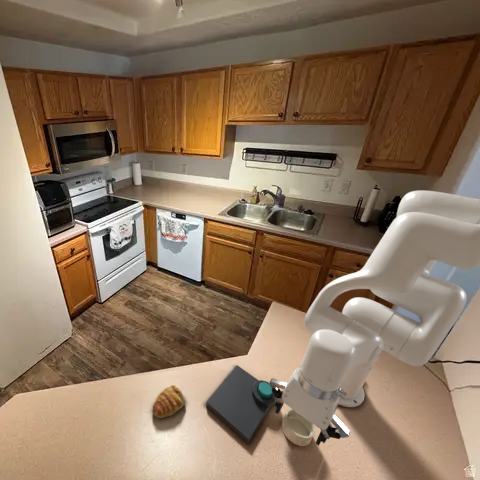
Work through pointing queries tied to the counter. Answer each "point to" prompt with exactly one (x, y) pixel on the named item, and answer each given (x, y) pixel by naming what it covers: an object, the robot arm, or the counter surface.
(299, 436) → the bowl
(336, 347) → the robot arm
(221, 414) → the dark grey flat block
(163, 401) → the pastry
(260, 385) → the button
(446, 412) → the counter surface
